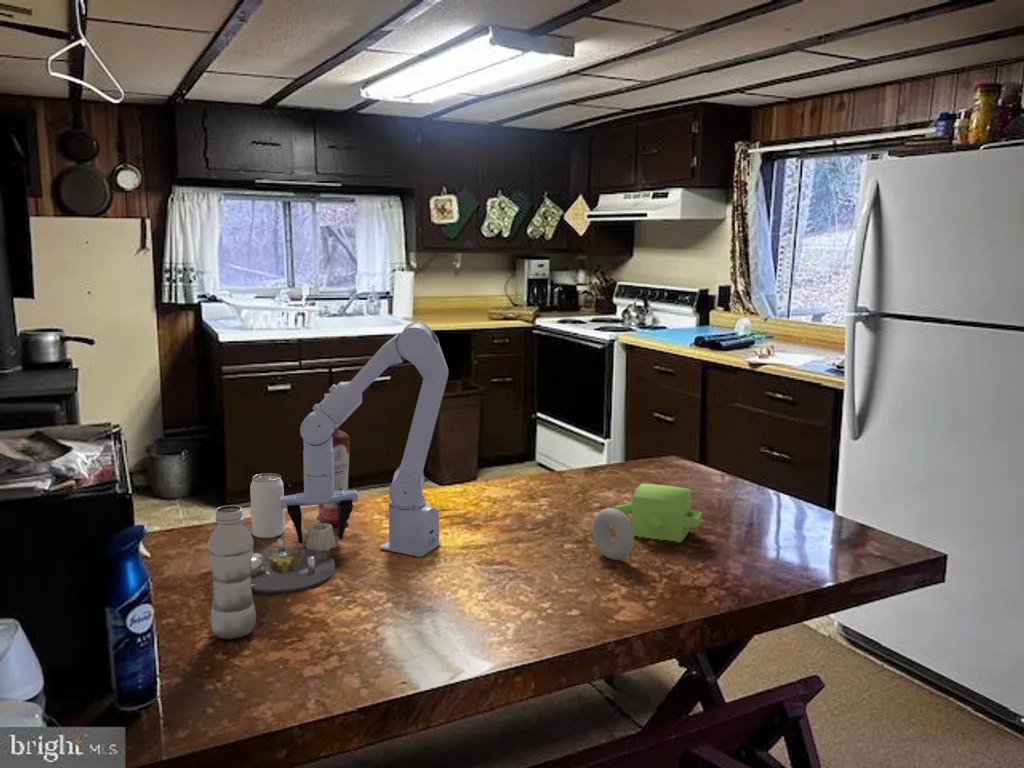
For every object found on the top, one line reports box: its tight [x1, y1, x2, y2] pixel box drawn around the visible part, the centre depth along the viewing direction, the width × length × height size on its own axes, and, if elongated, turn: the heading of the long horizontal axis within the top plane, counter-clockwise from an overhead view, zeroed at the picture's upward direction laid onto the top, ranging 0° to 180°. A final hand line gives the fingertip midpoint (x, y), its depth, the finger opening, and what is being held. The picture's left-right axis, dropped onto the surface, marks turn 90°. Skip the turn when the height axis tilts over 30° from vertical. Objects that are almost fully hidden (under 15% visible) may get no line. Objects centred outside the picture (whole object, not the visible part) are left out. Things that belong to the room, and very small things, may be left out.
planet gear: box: [305, 522, 336, 552], centre depth 160 cm, size 5×5×4 cm
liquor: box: [316, 392, 351, 528], centre depth 171 cm, size 7×7×28 cm
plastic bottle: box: [207, 504, 257, 640], centre depth 123 cm, size 6×7×20 cm
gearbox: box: [613, 483, 703, 543], centre depth 170 cm, size 18×10×10 cm, turn 68°
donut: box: [591, 507, 635, 561], centre depth 157 cm, size 10×4×10 cm, turn 37°
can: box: [249, 472, 286, 540], centre depth 166 cm, size 6×6×12 cm
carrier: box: [250, 537, 336, 594], centre depth 147 cm, size 19×20×4 cm
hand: (320, 539), depth 160 cm, fingers open, 7 cm apart
